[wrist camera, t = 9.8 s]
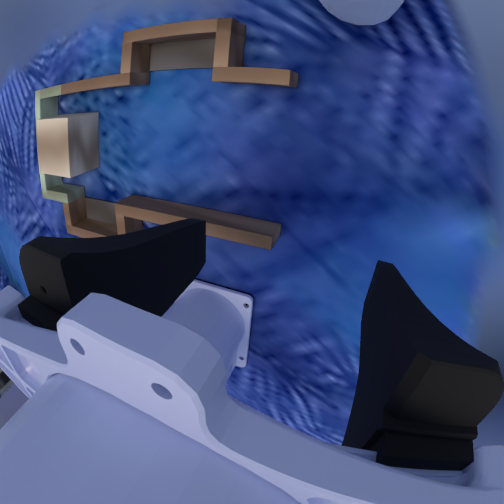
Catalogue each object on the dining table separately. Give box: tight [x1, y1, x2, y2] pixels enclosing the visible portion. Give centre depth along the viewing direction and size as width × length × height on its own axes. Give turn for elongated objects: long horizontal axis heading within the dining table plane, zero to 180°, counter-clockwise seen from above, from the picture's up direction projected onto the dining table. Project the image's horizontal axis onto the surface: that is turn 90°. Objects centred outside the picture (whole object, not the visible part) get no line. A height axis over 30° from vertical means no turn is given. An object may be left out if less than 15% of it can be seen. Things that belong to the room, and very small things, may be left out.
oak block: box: [37, 112, 99, 178], centre depth 25 cm, size 6×6×4 cm
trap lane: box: [35, 18, 299, 250], centre depth 23 cm, size 19×26×2 cm
